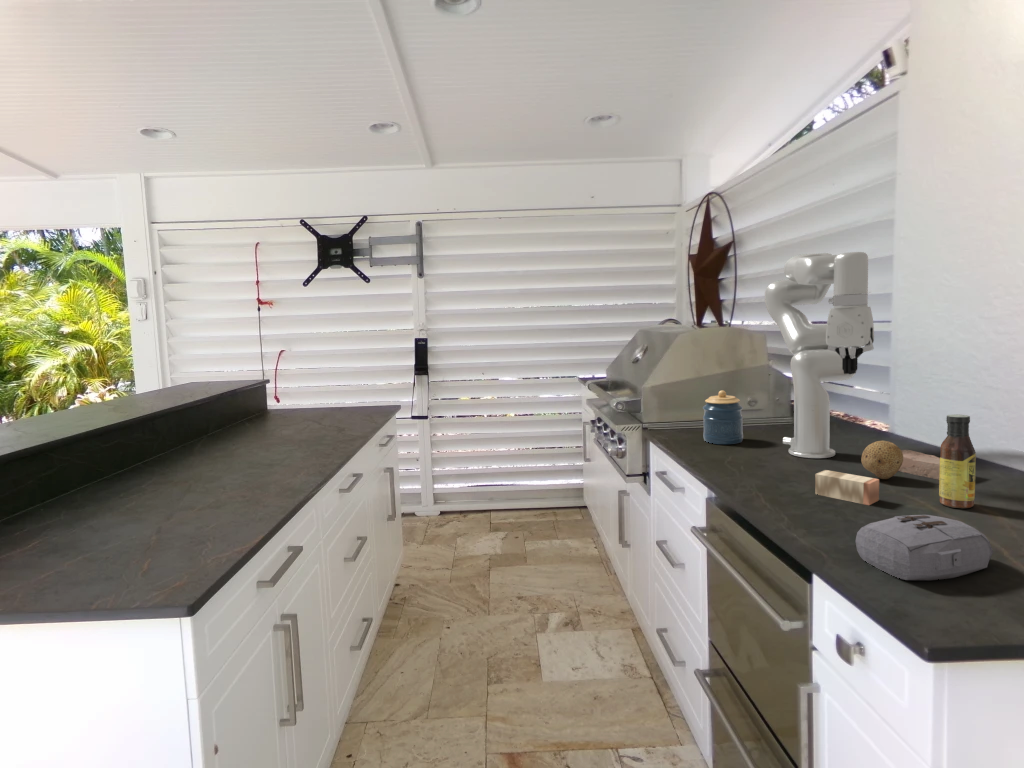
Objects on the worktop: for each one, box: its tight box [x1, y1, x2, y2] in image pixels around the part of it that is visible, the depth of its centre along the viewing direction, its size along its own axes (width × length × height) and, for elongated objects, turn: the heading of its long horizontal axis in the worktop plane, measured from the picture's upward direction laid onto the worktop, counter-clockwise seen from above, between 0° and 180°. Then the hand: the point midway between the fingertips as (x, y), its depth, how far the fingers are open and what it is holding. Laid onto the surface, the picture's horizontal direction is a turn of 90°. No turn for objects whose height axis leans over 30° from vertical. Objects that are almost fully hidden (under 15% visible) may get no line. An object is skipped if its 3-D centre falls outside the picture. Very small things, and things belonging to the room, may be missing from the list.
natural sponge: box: [860, 440, 903, 480], centre depth 148 cm, size 9×9×10 cm
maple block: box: [814, 469, 880, 506], centre depth 137 cm, size 5×5×12 cm
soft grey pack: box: [855, 514, 994, 581], centre depth 101 cm, size 15×8×20 cm
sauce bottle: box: [938, 414, 977, 509], centre depth 127 cm, size 7×6×20 cm
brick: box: [898, 449, 940, 481], centre depth 152 cm, size 17×8×5 cm, turn 24°
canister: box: [702, 389, 744, 445], centre depth 200 cm, size 13×13×18 cm
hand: (849, 373), depth 150 cm, fingers closed
